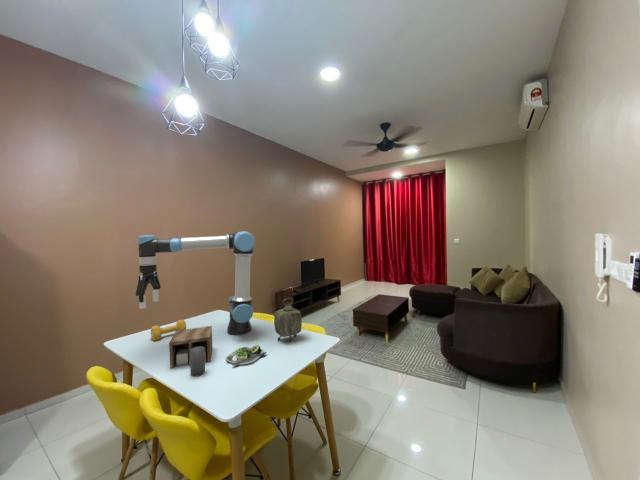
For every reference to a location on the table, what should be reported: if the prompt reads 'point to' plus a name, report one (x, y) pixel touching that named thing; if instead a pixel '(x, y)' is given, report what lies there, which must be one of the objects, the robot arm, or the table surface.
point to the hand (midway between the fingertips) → (149, 304)
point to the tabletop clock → (287, 321)
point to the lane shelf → (190, 341)
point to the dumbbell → (167, 329)
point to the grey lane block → (182, 356)
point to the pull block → (198, 360)
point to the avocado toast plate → (245, 355)
